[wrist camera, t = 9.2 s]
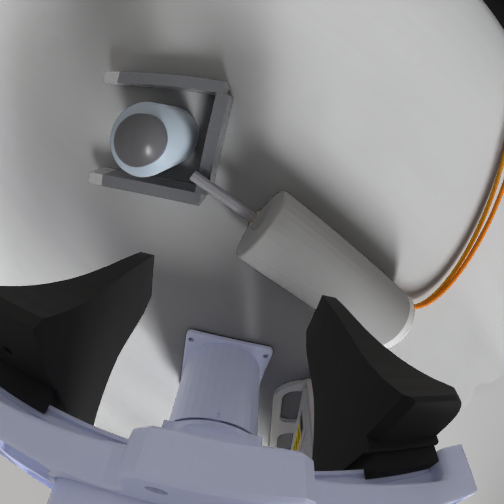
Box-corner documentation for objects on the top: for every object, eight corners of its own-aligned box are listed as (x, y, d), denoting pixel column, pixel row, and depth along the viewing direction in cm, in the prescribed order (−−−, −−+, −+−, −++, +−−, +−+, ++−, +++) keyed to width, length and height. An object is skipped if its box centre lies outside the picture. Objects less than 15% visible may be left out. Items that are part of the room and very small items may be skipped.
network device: (321, 459, 36) (329, 563, 18) (267, 461, 37) (264, 567, 19) (362, 355, 26) (410, 544, 8) (275, 358, 26) (274, 568, 8)
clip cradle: (210, 198, 20) (204, 207, 18) (103, 177, 20) (88, 182, 18) (236, 87, 17) (232, 82, 15) (119, 75, 16) (105, 71, 14)
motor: (382, 345, 25) (406, 376, 20) (177, 203, 20) (160, 216, 15) (503, 164, 20) (537, 170, 15) (357, -8, 15) (381, -35, 10)
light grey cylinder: (186, 174, 20) (161, 190, 15) (133, 156, 19) (96, 167, 14) (207, 115, 18) (187, 112, 13) (151, 99, 17) (116, 93, 13)
